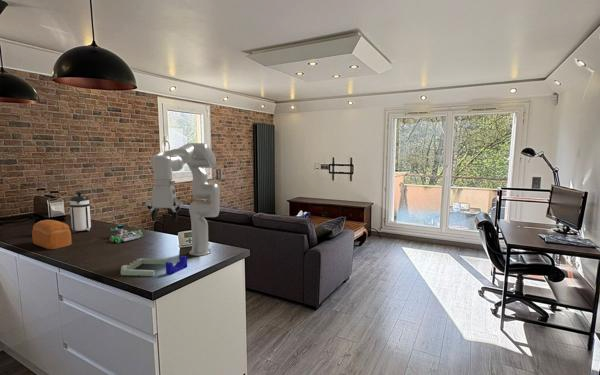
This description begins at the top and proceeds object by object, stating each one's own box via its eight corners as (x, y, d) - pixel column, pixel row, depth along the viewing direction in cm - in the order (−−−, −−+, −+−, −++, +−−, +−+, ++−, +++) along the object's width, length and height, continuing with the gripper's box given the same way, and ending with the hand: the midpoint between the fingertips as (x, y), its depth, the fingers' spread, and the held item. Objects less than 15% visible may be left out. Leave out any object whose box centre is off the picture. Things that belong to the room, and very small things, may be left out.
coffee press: (99, 229, 250) (96, 191, 247) (78, 234, 235) (75, 193, 232) (83, 227, 256) (81, 190, 253) (62, 232, 241) (59, 192, 238)
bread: (48, 250, 196) (46, 225, 195) (31, 244, 210) (29, 220, 208) (73, 245, 208) (72, 221, 206) (55, 239, 222) (54, 216, 220)
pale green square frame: (140, 262, 176) (140, 255, 175) (170, 263, 175) (170, 256, 174) (120, 274, 158) (120, 267, 158) (153, 276, 157) (153, 268, 157)
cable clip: (180, 266, 172) (180, 255, 171) (187, 267, 170) (186, 256, 170) (163, 274, 161) (163, 262, 160) (170, 275, 159) (170, 263, 158)
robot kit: (124, 233, 239) (123, 221, 238) (146, 238, 227) (145, 225, 226) (98, 239, 222) (97, 226, 221) (120, 244, 210) (120, 230, 209)
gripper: (185, 182, 149) (186, 218, 150) (149, 182, 150) (151, 218, 152) (177, 184, 141) (179, 222, 143) (140, 183, 143) (142, 221, 144)
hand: (164, 220), depth 147 cm, fingers open, 9 cm apart
